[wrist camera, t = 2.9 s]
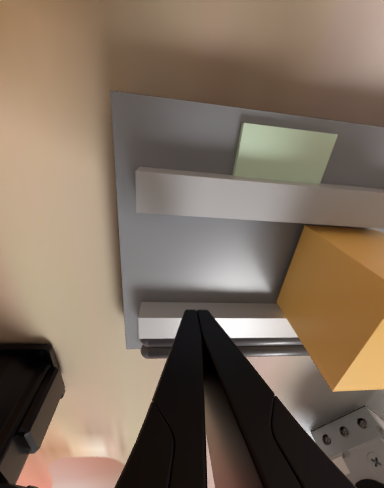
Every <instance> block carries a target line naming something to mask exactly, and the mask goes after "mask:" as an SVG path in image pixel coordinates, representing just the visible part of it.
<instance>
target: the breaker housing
mask: <svg viewBox="0 0 384 488" xmlns="http://www.w3.org/2000/svg"><path fill="white" fill-rule="evenodd" d="M110 94H111V110H112V127H113V143H114V159H115V175H116V192H117V208H118V224H119V240H120V257H121V273H122V289H123V305H124V322H125V338H126V349H141V354H142V356H143V357H144V358H146V359H157V358H168V355H169V352H170V350H171V347H172V344H173V341H174V339H175V336H176V333H177V330H178V328H179V325H180V322H181V319H182V317H183V314H184V311H185V310H186V309H195V310H196V311H197V310H198V309H207V310H208V311H209V312H210V313H211V314H212V316H213V317H214V318H215V319H216V321H217V322H218V323H219V324H220V326H221V327H222V328H223V329H224V331H225V332H226V333H227V334H228V336H229V337H230V338H231V339H232V341H233V342H234V343H235V345H236V346H237V347H238V348H239V350H240V351H241V352H242V353H243V355H244V356H245V357H260V356H310V355H309V353H308V352H307V350H306V349H305V347H304V345H303V344H302V342H301V341H300V339H299V337H298V336H297V334H296V333H295V331H294V329H293V328H292V326H291V325H290V323H289V321H288V320H287V318H286V317H285V315H284V313H283V312H282V310H281V309H280V307H279V306H278V304H277V299H278V296H279V294H280V291H281V288H282V285H283V283H284V280H285V277H286V275H287V272H288V269H289V266H290V264H291V261H292V258H293V256H294V253H295V250H296V247H297V245H298V242H299V239H300V237H301V234H302V231H303V228H304V226H305V225H311V226H327V227H343V228H358V229H374V230H378V231H380V232H382V233H384V127H381V126H373V125H366V124H358V123H351V122H343V121H336V120H328V119H321V118H313V117H306V116H298V115H291V114H283V113H276V112H268V111H260V110H253V109H245V108H238V107H230V106H223V105H215V104H208V103H200V102H193V101H185V100H178V99H170V98H163V97H155V96H148V95H140V94H133V93H125V92H118V91H110Z"/></svg>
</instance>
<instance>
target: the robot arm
mask: <svg viewBox="0 0 384 488" xmlns="http://www.w3.org/2000/svg"><path fill="white" fill-rule="evenodd" d="M64 388H65V386H64V383H63V380H62V376H61V373H60V370H59V368H58V365H57V362H56V358H55V355H54V352H53V348H52V347H51V346H50V345H47V344H3V345H0V488H38V487H35V486H30V485H29V486H27V487H24V486H19V485H16V482H17V480H18V478H19V476H20V473H21V471H22V469H23V467H24V464H25V462H26V460H27V457H28V455H29V454H34V453H35V452H36V451H37V450H38V449H39V448H40V446H41V444H42V441H43V439H44V436H45V434H46V432H47V429H48V427H49V424H50V422H51V419H52V417H53V415H54V412H55V410H56V407H57V405H58V403H59V400H60V399H61V398H63V396H64V393H65V389H64ZM274 396H275V394H274V392H273V391H272V390H271V389H270V387H269V386H268V385H267V384H266V382H265V381H264V380H263V379H262V377H261V376H260V375H259V374H258V372H257V371H256V370H255V368H254V367H253V366H252V365H251V363H250V362H249V361H248V360H247V358H246V357H245V356H244V355H243V353H242V352H241V351H240V350H239V348H238V347H237V346H236V345H235V343H234V342H233V341H232V339H231V338H230V337H229V336H228V334H227V333H226V332H225V331H224V329H223V328H222V327H221V326H220V324H219V323H218V322H217V321H216V319H215V318H214V317H213V316H212V314H211V313H210V312H209V311H208V310H207V309H198V310H197V311H196V310H195V309H186V310H185V311H184V314H183V317H182V319H181V322H180V325H179V328H178V330H177V333H176V336H175V339H174V341H173V344H172V347H171V350H170V352H169V355H168V358H167V361H166V363H165V366H164V369H163V371H162V374H161V377H160V380H159V382H158V385H157V388H156V391H155V393H154V396H153V399H152V402H151V404H150V407H149V409H148V412H147V415H146V418H145V420H144V423H143V425H142V428H141V430H140V433H139V435H138V438H137V440H136V443H135V445H134V447H133V449H132V451H131V454H130V456H129V458H128V460H127V462H126V464H125V467H124V469H123V471H122V473H121V475H120V477H119V479H118V481H117V483H116V485H115V488H207V460H206V435H207V441H208V447H209V453H210V459H211V465H212V471H213V477H214V483H215V488H357V487H356V486H355V485H354V484H353V483H352V482H351V481H350V480H349V479H348V478H347V477H346V476H345V474H344V473H343V472H342V471H341V470H340V469H339V468H338V467H337V466H336V465H335V464H334V463H333V461H332V460H331V459H330V458H329V457H328V456H327V455H326V454H325V453H324V452H323V451H322V449H321V448H320V447H319V446H318V445H317V444H316V443H315V442H314V440H313V439H312V438H311V437H310V436H309V435H308V434H307V433H306V432H305V430H304V429H303V428H302V427H301V426H300V424H299V423H298V422H297V421H296V420H295V418H294V417H293V416H292V415H291V414H290V412H289V411H288V410H287V409H286V407H285V406H284V405H283V404H282V402H281V401H280V400H279V399H278V397H277V396H275V397H274Z"/></svg>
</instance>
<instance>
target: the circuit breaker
mask: <svg viewBox="0 0 384 488" xmlns="http://www.w3.org/2000/svg"><path fill="white" fill-rule="evenodd" d="M311 434H312V436H313V438H314V440H315V442H316V444H317V445H318V446H319V447H320V448H321V449H322V451H323V452H324V453H325V454H326V455H327V456H328V457H329V458H330V459H331V460H332V461H333V463H334V464H335V465H336V466H337V467H338V468H339V469H340V470H341V471H342V472H343V473H344V474H345V476H346V477H347V478H348V479H349V480H350V481H351V482H352V483H353V484H354V485H355V486H356V487H357V488H384V420H382V419H381V418H380V417H379V416H377V415H376V414H375V413H374V412H372V411H371V410H370V409H369V408H367V407H366V406H364V407H362V408H360V409H358V410H356V411H354V412H351V413H349V414H347V415H345V416H343V417H341V418H339V419H337V420H335V421H333V422H331V423H329V424H327V425H324V426H322V427H320V428H318V429H316V430H314V431H312V432H311Z"/></svg>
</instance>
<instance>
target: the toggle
mask: <svg viewBox="0 0 384 488" xmlns="http://www.w3.org/2000/svg"><path fill="white" fill-rule="evenodd" d="M277 304H278V306H279V307H280V309H281V310H282V312H283V313H284V315H285V317H286V318H287V320H288V321H289V323H290V325H291V326H292V328H293V329H294V331H295V333H296V334H297V336H298V337H299V339H300V341H301V342H302V344H303V345H304V347H305V349H306V350H307V352H308V353H309V355H310V357H311V358H312V360H313V361H314V363H315V365H316V366H317V368H318V369H319V371H320V373H321V374H322V376H323V377H324V379H325V381H326V382H327V384H328V385H329V387H330V389H331V390H332V392H334V391H357V390H380V389H384V233H382V232H380V231H378V230H374V229H358V228H343V227H327V226H311V225H305V226H304V228H303V231H302V234H301V237H300V239H299V242H298V245H297V247H296V250H295V253H294V256H293V258H292V261H291V264H290V266H289V269H288V272H287V275H286V277H285V280H284V283H283V285H282V288H281V291H280V294H279V296H278V299H277Z"/></svg>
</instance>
